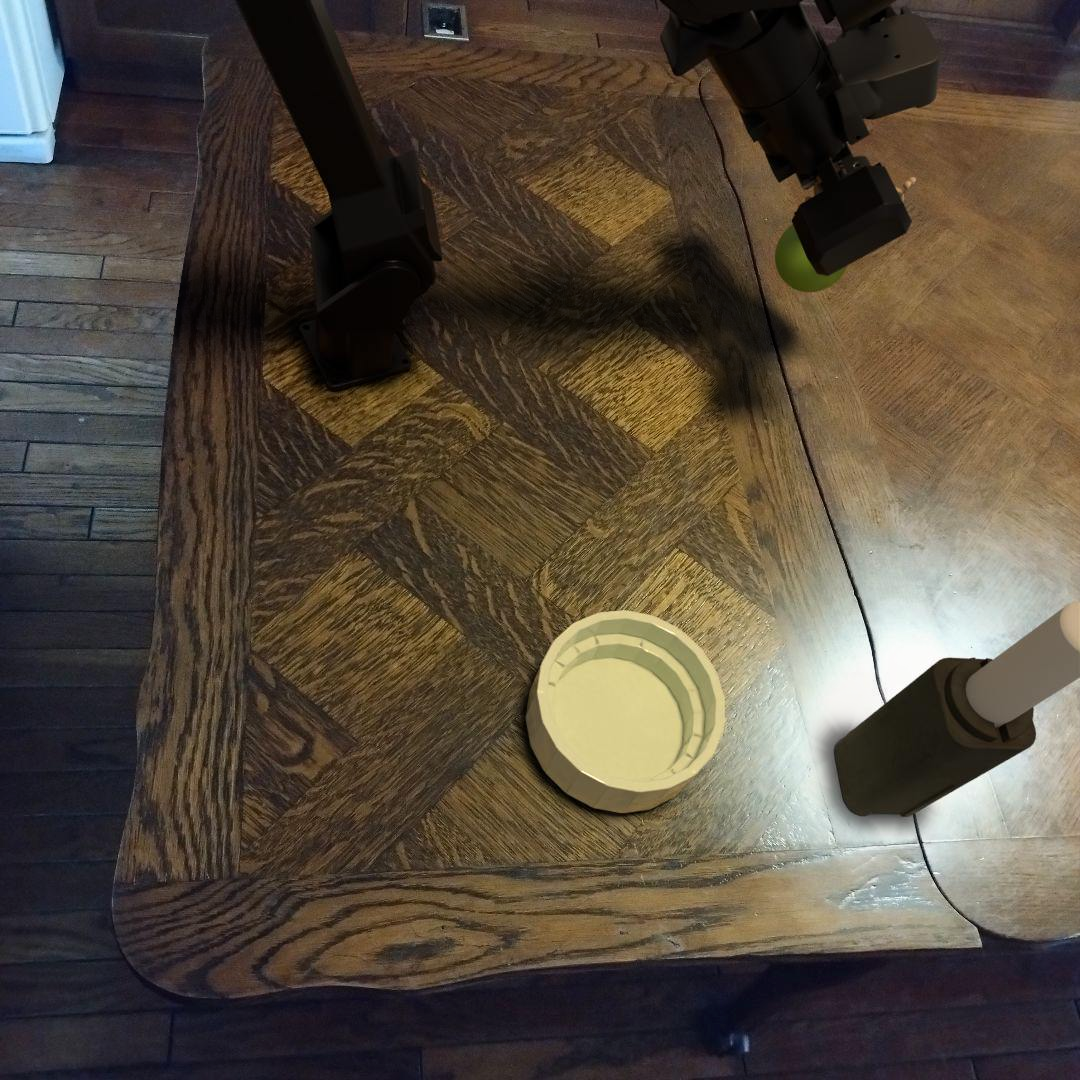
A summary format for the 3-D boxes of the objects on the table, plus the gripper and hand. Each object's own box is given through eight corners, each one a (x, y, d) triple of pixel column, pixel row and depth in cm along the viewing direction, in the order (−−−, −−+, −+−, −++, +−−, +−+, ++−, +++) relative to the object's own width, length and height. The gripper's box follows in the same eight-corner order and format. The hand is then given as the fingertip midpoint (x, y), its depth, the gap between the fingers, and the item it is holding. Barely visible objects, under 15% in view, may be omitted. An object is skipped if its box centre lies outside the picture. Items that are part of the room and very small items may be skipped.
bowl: (732, 768, 62) (761, 741, 57) (579, 848, 57) (598, 825, 53) (642, 620, 66) (662, 585, 62) (493, 684, 62) (504, 651, 58)
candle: (903, 739, 65) (1174, 545, 44) (921, 817, 62) (1219, 651, 41) (831, 737, 64) (1071, 538, 43) (846, 816, 61) (1109, 645, 40)
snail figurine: (817, 326, 74) (895, 198, 64) (750, 276, 75) (816, 143, 65) (853, 293, 77) (934, 166, 66) (788, 246, 78) (857, 114, 68)
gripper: (966, 86, 51) (1022, 251, 63) (850, -108, 60) (918, 69, 72) (770, 203, 56) (856, 337, 68) (689, 7, 65) (778, 155, 77)
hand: (855, 217), depth 71 cm, fingers closed on snail figurine, 4 cm apart
